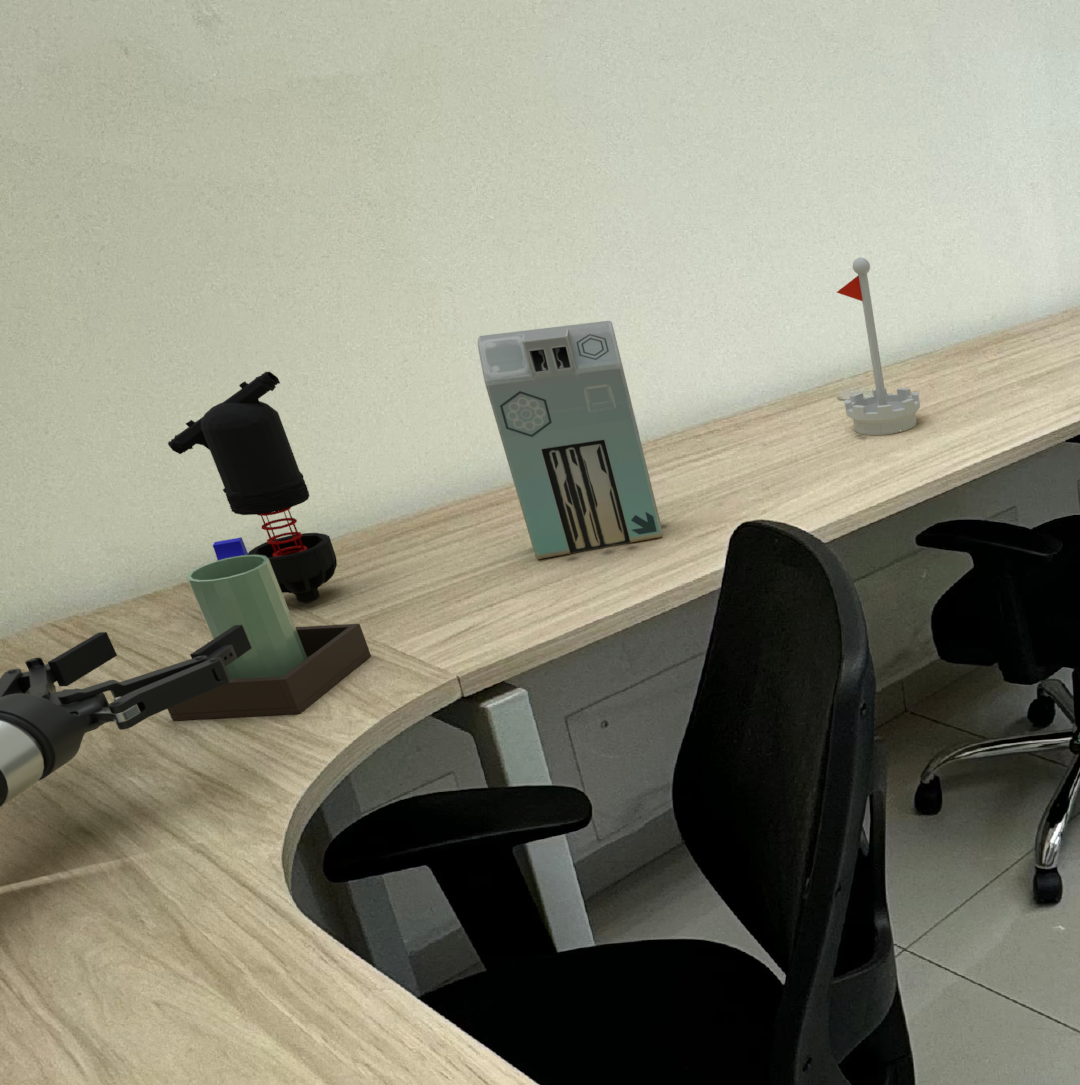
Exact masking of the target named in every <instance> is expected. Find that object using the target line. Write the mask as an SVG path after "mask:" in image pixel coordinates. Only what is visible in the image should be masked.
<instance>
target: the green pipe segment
mask: <svg viewBox="0 0 1080 1085" xmlns="http://www.w3.org/2000/svg"><path fill="white" fill-rule="evenodd" d="M188 572H189V573H187V575H186V576H185V578H186V580H187V583H188V585H189V587H190V590H191V592H192V595H193V597H194V599H195V601H196V604H197V606H198V609H199V611H200V613H201V616H202V618H203V621H204V623H205V625H206V628H207V629H208V632H209V635H210V636H211V639H212V640H213V639H215V638H216V637H218V636H219V635H221V634H222V633H224V632H225V631H227V630H228V629H230V628H231V627H233V626H234V625H243V628H244V630H245V633H246V635H247V638H248V640H249V643H250V645H251V647H252V648H251V649H250V650H249V651H247V652H246V653H244V654H243V655H241V656H240V657H239V658H237V659H236V660H234V661H233V662H231V663H230V664H228V665H227V666H226V667H225V668H226V671H227V673H228V675H229V678H230V679H243V678H261V677H280V676H284V675H285V674H287V673H288V672H289V671H291V670H292V669H293V668H295V667H296V666H297V665H299V664H300V663H301V662H303V661H304V660H305V659H307V656H306V653H305V651H304V648H303V645H302V643H301V640H300V638H299V635H298V633H297V630H296V627H297V626H296V625H295V623H294V620H293V617H292V614H291V612H290V610H289V607H288V605H287V602H286V599H285V597H284V593H282V592H281V589H280V586H279V584H278V581H277V579H276V576H275V574H274V571H273V569H272V566H271V563H270V561H269V559H268V558H267V557H266V556H263V555H242V556H236V557H230V558H225V559H221V560H214V561H211V562H208V563H206V564H203V565H199V567H196V568H194V569H192V570H191V571H188Z"/></svg>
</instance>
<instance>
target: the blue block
mask: <svg viewBox="0 0 1080 1085" xmlns="http://www.w3.org/2000/svg"><path fill="white" fill-rule="evenodd" d="M212 547H213V550H214V553H215V557H216V559H217V560H216V561H218V560H221V559H225V558H230V557H236V556H242V555H248V553H249V551H248V550H247V546H246V544H245V542H244V539H243V537H242V536H240V537H236V538H235V537H234V538H229V539H225V540H224V539H223V540H219V541H214V542H213V544H212Z"/></svg>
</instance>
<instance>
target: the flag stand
mask: <svg viewBox="0 0 1080 1085" xmlns="http://www.w3.org/2000/svg"><path fill="white" fill-rule="evenodd" d="M870 269H871V263H870V262H869V260H868V259H866V258H865V257H861V256H860V257H857V258H855V259H854V260H853V261H852V270H853V271H854V273H856V274H857V276H855V277H854V278H852V280H850V281H849V282H848V283H846V284H845V285H844V286H842V287H841V288H840V289H839V290H837V291H836V293H837V294H840V295H843V296H844V297H845V296H846V297H847V298H848V297H849V298H852V299H854V300H857V301H860V302H861V303H862V309H863V315H864V322H865V329H866V334H867V340H868V341H867V342H868V348H869V353H870V360H871V366H872V372H873V379H874V385H875V388H874V389H871V392H872V395H869V396H865V397H864V393H863V392H856V393H852V394H851V395H849V399H844V400H843V401H844V402H843V403H844V408H845V414H846V416H847V417H848V418H850V419H851V420H853V426H854V430H855V432H857V433H858V434H860V435H867V436H886V435H892V434H897V433H898V434H899V433H902V432H906V431H909V430H911V429H913V428H915V427H916V426H917V416H916V414H917V412H918V411H919V409H920V408H921V402H920V395H919V392H918V391H912V392H911V388H907V387H897V388H896V393H888V392H887V387H885V382H884V376H883V370H882V362H881V355H880V349H879V344H878V343H879V342H878V337H877V336H878V335H877V331H876V330H877V329H876V323H875V317H874V311H873V303H872V296H871V291H870V284H869V278H868V273H869V272H870ZM900 430H901V431H900Z"/></svg>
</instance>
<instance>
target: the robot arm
mask: <svg viewBox="0 0 1080 1085" xmlns="http://www.w3.org/2000/svg"><path fill="white" fill-rule="evenodd" d="M107 632H108V631H101V632H99V631H98V632H97V633H95V634H93V635H92V636H90V637H89V638H86V639H84V640H83V641H81V642H80V643H78V644H76V645H74V646H73V647H71V648H70V649H68V650H66V651H64V652H63V653H61V654H59V655H58V656H55V657H54V658H52V659H51V660H48V661H47V663H46V664H45V662H44V661H43V658H42V657H34V658H30V659H28V660H26V661H25V665H26V668H27V670H28V671H22V670H21V668H12V669H8V670H7V671H5V672H3V674H2V675H1V677H0V811H1V810H3V806H5V805H6V804H7V803H9V802H10V801H13V799H15V798H16V797H18V796H19V795H21V794H22V793H24V792H25V791H26V790H28V789H29V788H31V787H32V786H34V785H35V784H37V783H38V782H39V781H42V780H44V779H45V778H46V777H48V776H49V775H51V774H53V773H54V772H55V771H57V770H58V769H60V768H62V767H63V766H64V765H66V764H67V763H68V762H70V761H72V760H73V759H74V758H75V757H76V756H77V754H78V753H79V751H80V749H81V745H82V742H83V740H84V736H85V734H86V733H89V732H91V731H95V730H97V729H99V727H101V726H103V725H105V724H107V723H114V722H115V724H116V726H117V728H118V730H119V731H120V730H128V729H130V728H132V727H135V726H136V725H138V724H140V723H141V722H143V721H145V720H146V719H148V718H149V717H153V715H156V714H159V713H161V712H164V711H165V710H168V708H170V707H173V706H175V705H177V704H180V703H182V702H184V701H187V700H189V699H191V698H193V697H196V696H198V695H200V694H203V693H205V692H207V691H210V690H212V689H214V688H217V687H219V686H221V685H224V684H226V683H228V682H230V678H229V675H228V673H227V671H226V668H225V667H226V666H227V665H228V664H230V663H231V662H233V661H234V660H236V659H237V658H239V657H240V656H241V655H243V654H244V653H246V652H247V651H249V650H250V649H251V648H252V647H251V645H250V643H249V640H248V638H247V635H246V633H245V630H244V628H243V625H234V626H233V627H231V628H230V629H228V630H227V631H225V632H224V633H222V634H221V635H219V636H218V637H216V638H215V639H212V640H210V641H209V642H207V643H205V644H204V645H202V646H201V647H199V648H198V649H196V650H195V651H193V652H192V653H190V657H191V658H190V659H187V660H182V661H181V662H176V663H174V664H171V665H167V666H165V667H162V668H159V669H156V670H153V671H150V672H147V673H143V674H141V675H138V676H135V677H132V678H128V679H125V680H122V681H118V680H116V679H108V680H106V681H103V682H100V683H97V684H93V685H91V686H87V687H84V688H79V687H78V688H77V687H76V688H64V689H62V690H60V691H57V688H56V685H55V683H57V684H58V686H59V687H68V686H70V685H72V684H73V683H75V682H76V681H78V680H79V679H82V678H83V677H85V676H87V675H88V674H90V673H92V672H93V671H94V670H96V669H98V668H99V667H101V666H103V665H104V664H106V663H108V662H109V661H111V660H112V659H114V658H116V657H117V656H118V654H117V651H116V649H115V648H114V646H113V644H112V641H111V639H110V637H109V635H108V633H107ZM109 691H110V692H111V694H112V697H113V701H112V702H110V703H109V701H108V699H107V697H106V694H105V692H109Z"/></svg>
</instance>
